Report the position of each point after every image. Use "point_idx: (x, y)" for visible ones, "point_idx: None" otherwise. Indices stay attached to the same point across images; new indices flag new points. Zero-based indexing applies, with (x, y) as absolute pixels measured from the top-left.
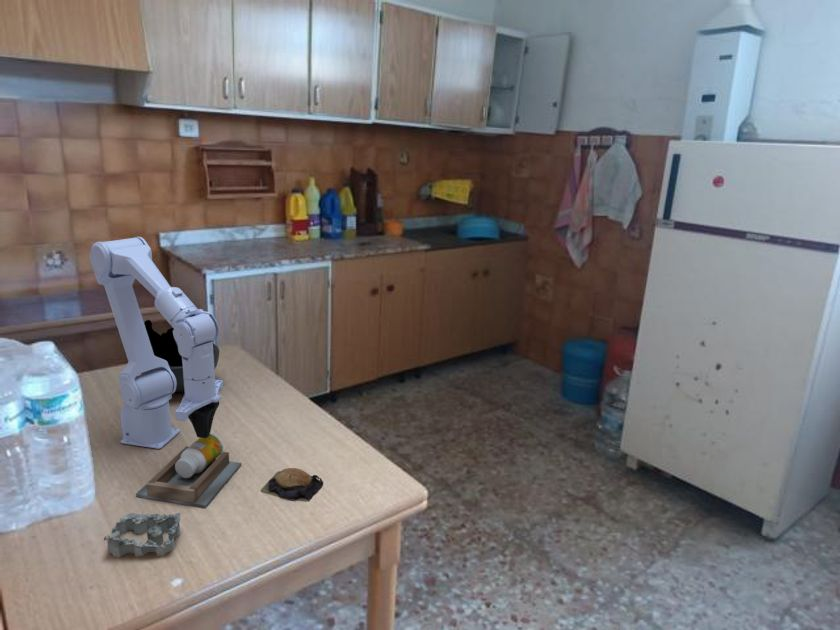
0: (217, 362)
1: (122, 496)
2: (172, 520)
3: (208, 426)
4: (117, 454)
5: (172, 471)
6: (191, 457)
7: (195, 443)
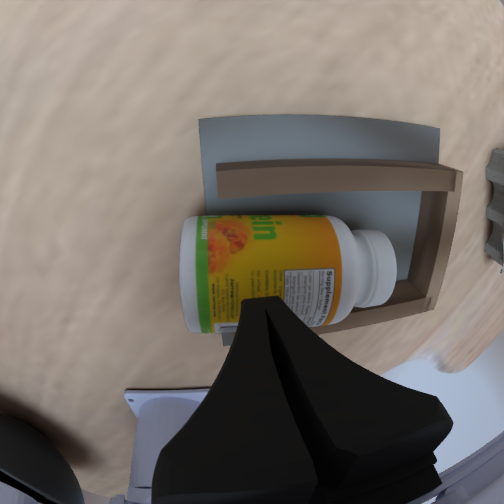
0: None
1: (403, 332)
2: (500, 176)
3: (291, 334)
4: None
5: None
6: (364, 274)
7: None
